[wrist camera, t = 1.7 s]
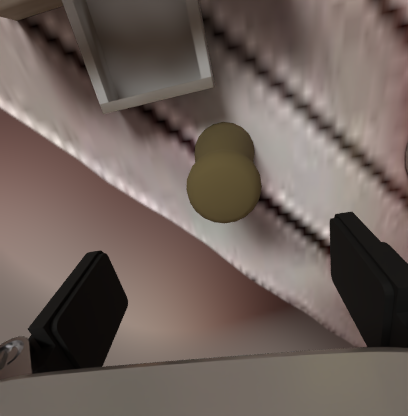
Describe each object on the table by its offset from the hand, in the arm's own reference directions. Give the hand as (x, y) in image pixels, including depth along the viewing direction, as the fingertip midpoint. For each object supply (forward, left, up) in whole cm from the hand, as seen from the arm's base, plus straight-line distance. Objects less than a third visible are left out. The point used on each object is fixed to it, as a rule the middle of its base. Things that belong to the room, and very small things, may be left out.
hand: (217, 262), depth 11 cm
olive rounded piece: (0, 0, -18) cm, 18 cm away
